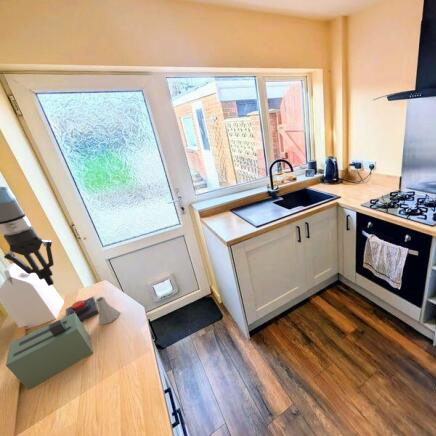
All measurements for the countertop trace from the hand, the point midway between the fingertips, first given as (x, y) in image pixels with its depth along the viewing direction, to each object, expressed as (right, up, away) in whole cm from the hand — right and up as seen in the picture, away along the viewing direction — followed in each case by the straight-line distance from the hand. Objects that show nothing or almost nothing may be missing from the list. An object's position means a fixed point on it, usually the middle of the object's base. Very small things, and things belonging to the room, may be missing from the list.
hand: (50, 283), depth 96 cm
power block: (+4, -15, +10) cm, 19 cm away
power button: (+4, -12, +8) cm, 15 cm away
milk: (-14, -17, +11) cm, 25 cm away
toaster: (+14, -24, -11) cm, 30 cm away
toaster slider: (+18, -12, -15) cm, 26 cm away
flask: (+19, -16, +6) cm, 25 cm away
